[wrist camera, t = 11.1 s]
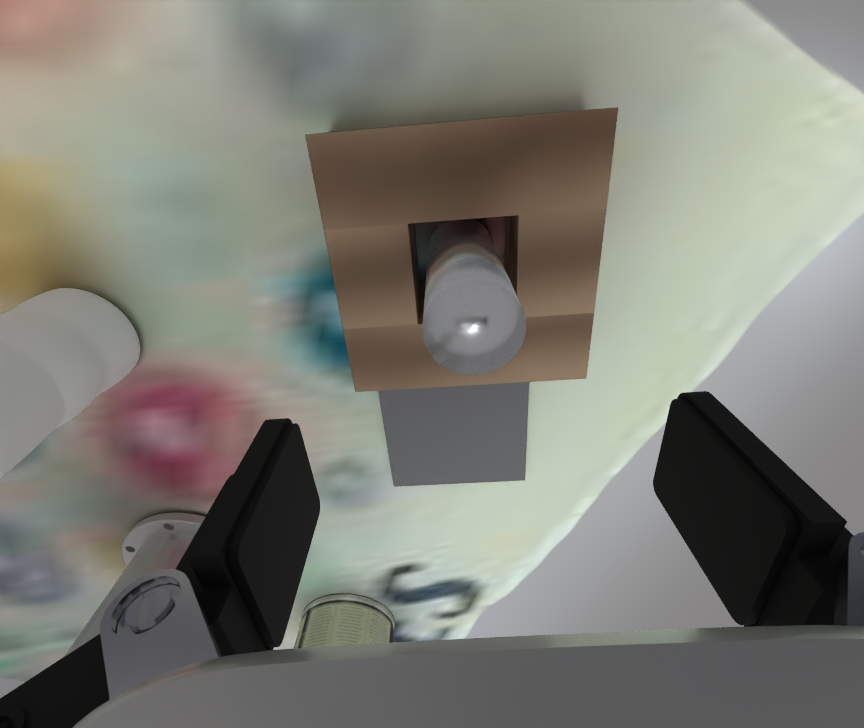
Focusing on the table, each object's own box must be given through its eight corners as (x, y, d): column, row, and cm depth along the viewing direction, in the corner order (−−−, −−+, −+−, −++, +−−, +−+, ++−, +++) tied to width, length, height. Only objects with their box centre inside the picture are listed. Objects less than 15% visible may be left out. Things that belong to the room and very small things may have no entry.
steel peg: (492, 277, 28) (524, 372, 18) (431, 282, 28) (426, 377, 18) (491, 214, 26) (527, 277, 16) (426, 219, 26) (417, 284, 16)
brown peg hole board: (564, 341, 30) (586, 378, 26) (366, 353, 31) (355, 391, 26) (584, 109, 23) (618, 107, 19) (329, 132, 24) (305, 134, 20)
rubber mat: (523, 475, 36) (524, 480, 36) (394, 481, 37) (393, 486, 36) (527, 362, 31) (529, 366, 30) (376, 371, 32) (375, 375, 31)
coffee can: (407, 639, 49) (397, 812, 37) (323, 651, 51) (286, 821, 38) (378, 585, 44) (355, 764, 32) (286, 600, 46) (230, 777, 33)
